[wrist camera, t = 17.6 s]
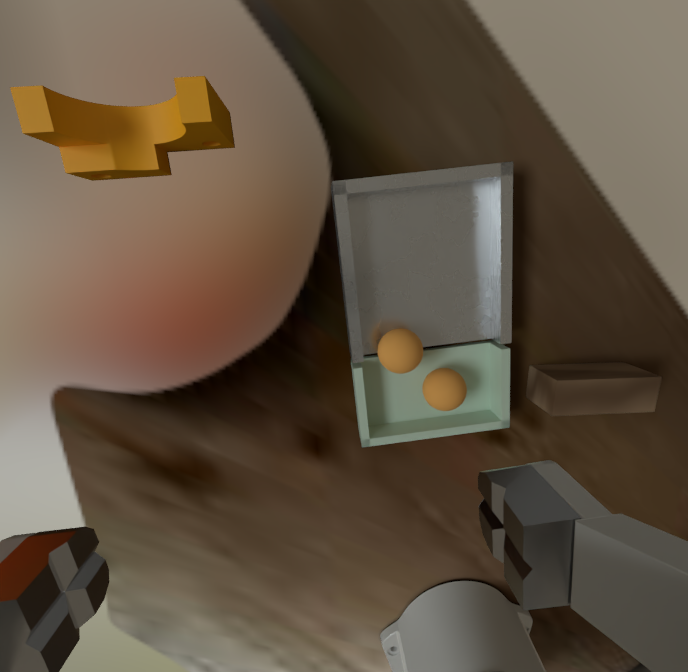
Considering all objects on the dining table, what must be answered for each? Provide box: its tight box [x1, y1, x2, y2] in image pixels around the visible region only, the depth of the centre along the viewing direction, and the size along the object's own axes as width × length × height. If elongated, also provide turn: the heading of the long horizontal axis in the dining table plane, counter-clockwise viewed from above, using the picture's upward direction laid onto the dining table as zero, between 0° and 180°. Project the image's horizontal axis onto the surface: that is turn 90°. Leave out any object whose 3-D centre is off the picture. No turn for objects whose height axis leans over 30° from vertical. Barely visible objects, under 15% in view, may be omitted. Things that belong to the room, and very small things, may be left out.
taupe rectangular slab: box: [526, 362, 662, 416], centre depth 35 cm, size 4×10×4 cm, turn 91°
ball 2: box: [422, 368, 467, 411], centre depth 33 cm, size 4×4×4 cm
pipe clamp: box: [11, 76, 235, 181], centre depth 26 cm, size 12×4×6 cm, turn 94°
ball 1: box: [378, 328, 423, 374], centre depth 31 cm, size 4×4×4 cm
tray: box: [351, 340, 510, 447], centre depth 34 cm, size 8×14×3 cm, turn 96°
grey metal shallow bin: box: [331, 162, 513, 363], centre depth 31 cm, size 15×14×3 cm
